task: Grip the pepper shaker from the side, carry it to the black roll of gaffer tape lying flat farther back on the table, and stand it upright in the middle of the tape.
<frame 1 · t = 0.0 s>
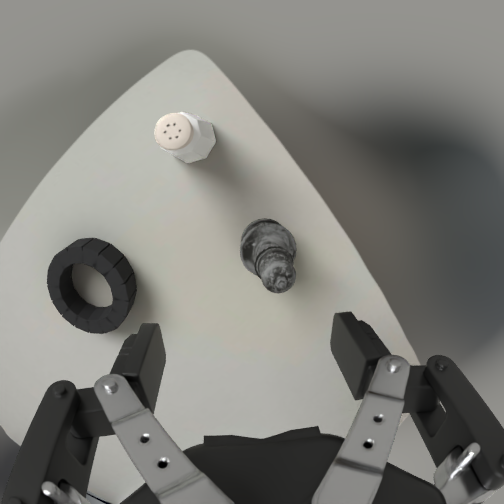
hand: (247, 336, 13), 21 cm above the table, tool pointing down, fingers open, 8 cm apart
pepper shaker: (191, 139, 29), on the table
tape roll: (95, 281, 34), on the table
grey chess piece: (264, 240, 34), on the table
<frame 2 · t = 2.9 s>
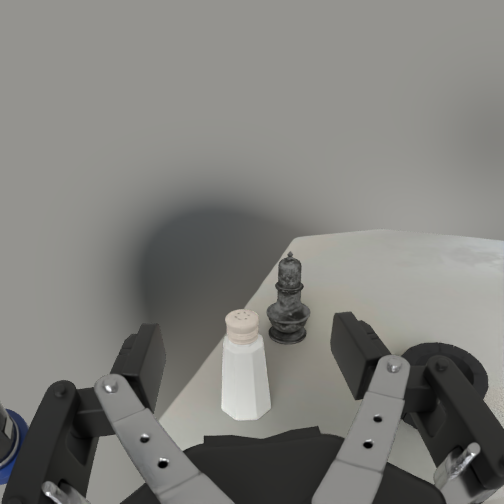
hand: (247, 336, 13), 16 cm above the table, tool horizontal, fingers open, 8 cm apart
pepper shaker: (246, 404, 28), on the table
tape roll: (434, 395, 25), on the table
grey chess piece: (287, 334, 40), on the table
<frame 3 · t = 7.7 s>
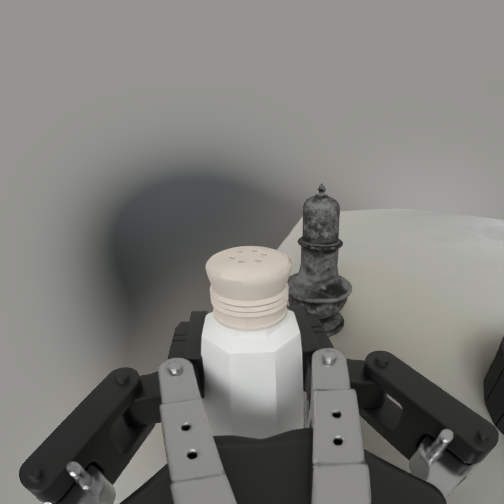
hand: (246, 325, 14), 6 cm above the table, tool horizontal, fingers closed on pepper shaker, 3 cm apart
pepper shaker: (254, 449, 13), on the table, touching gripper
grey chess piece: (314, 322, 25), on the table
when the fingers open (7 cm above the table, at t = 16.0 s): pepper shaker stays where it is, resting in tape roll.
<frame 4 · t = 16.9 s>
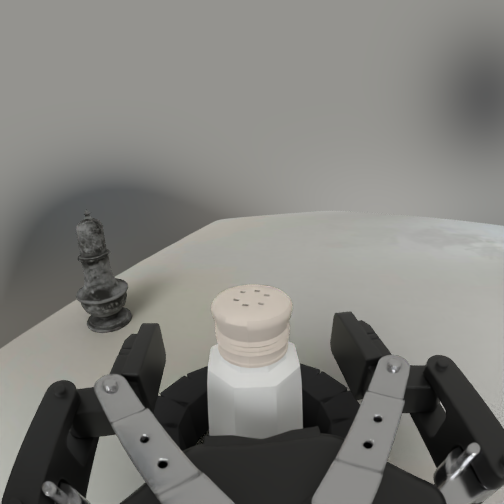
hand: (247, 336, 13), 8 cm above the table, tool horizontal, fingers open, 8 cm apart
pepper shaker: (256, 462, 14), resting in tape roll
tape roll: (256, 459, 14), on the table
grey chess piece: (109, 320, 28), on the table
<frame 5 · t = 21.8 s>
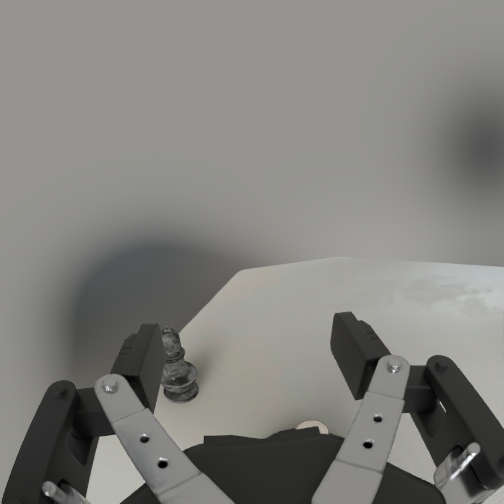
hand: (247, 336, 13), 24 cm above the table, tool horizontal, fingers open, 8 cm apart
grey chess piece: (181, 391, 39), on the table
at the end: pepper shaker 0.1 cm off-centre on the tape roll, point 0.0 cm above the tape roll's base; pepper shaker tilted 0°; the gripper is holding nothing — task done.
